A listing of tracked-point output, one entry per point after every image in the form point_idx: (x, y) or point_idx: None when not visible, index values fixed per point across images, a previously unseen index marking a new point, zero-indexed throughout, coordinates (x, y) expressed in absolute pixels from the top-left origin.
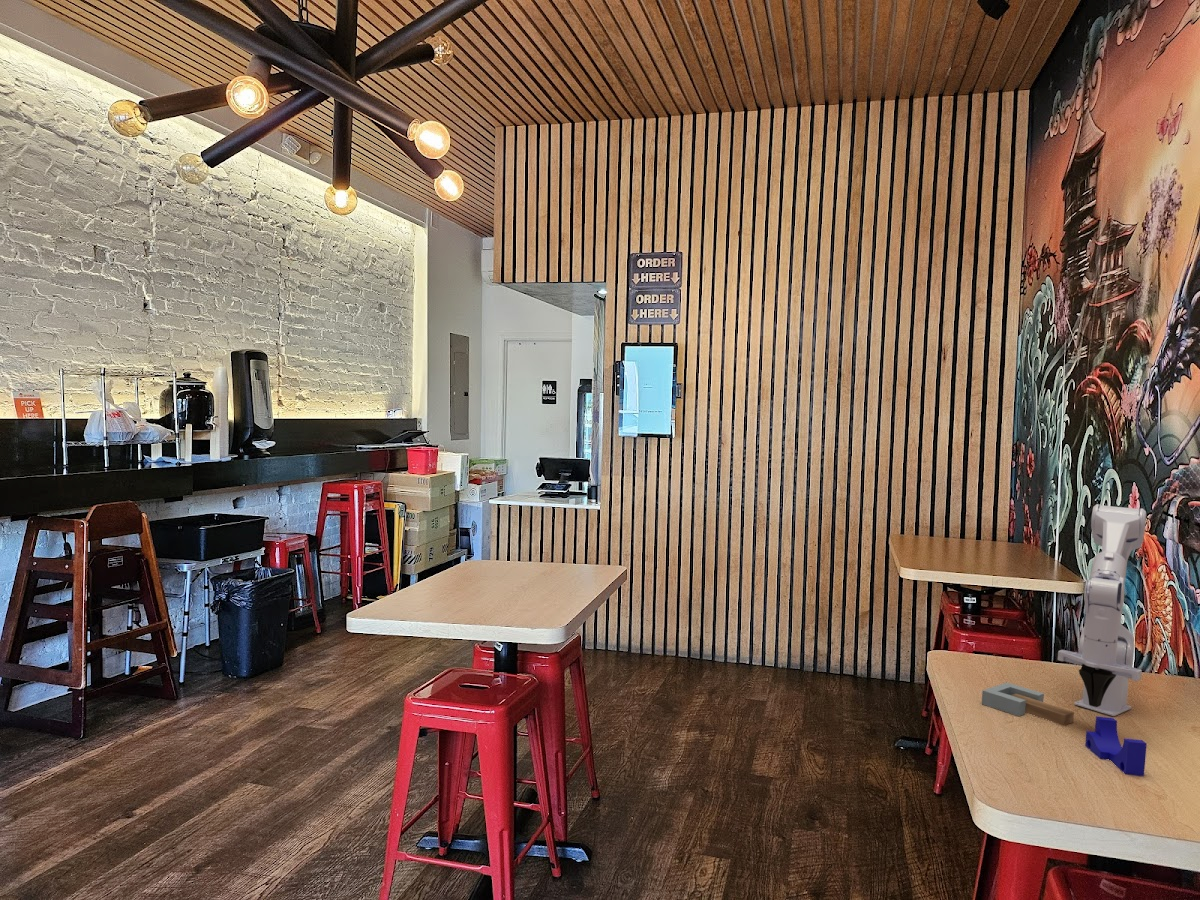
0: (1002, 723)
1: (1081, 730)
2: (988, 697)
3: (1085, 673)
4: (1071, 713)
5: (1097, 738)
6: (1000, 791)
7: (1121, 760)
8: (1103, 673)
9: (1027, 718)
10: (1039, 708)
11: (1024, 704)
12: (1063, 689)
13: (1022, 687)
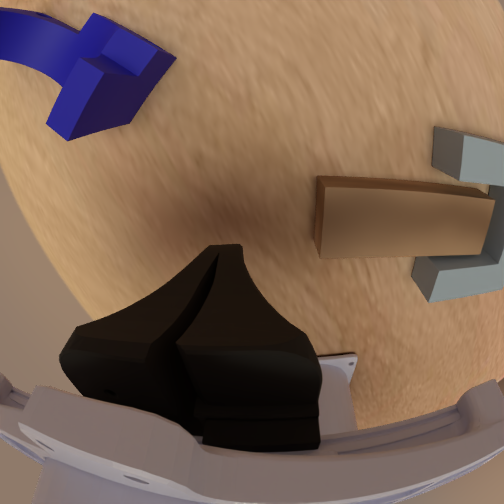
0: (425, 18)
1: (261, 187)
2: None
3: (232, 343)
4: (321, 239)
5: (109, 38)
6: None
7: (38, 15)
8: (121, 403)
9: (414, 132)
10: (412, 190)
11: (452, 167)
12: (389, 394)
13: (475, 291)
